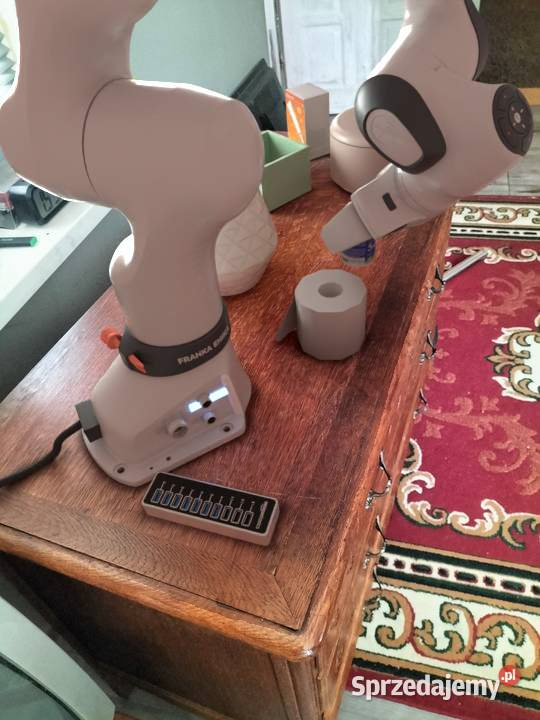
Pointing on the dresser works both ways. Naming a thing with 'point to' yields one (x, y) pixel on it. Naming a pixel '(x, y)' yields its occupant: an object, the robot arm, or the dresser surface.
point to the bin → (284, 169)
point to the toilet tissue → (327, 314)
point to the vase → (245, 248)
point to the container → (352, 154)
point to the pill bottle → (360, 254)
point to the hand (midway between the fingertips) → (355, 229)
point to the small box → (309, 117)
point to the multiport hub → (212, 507)
